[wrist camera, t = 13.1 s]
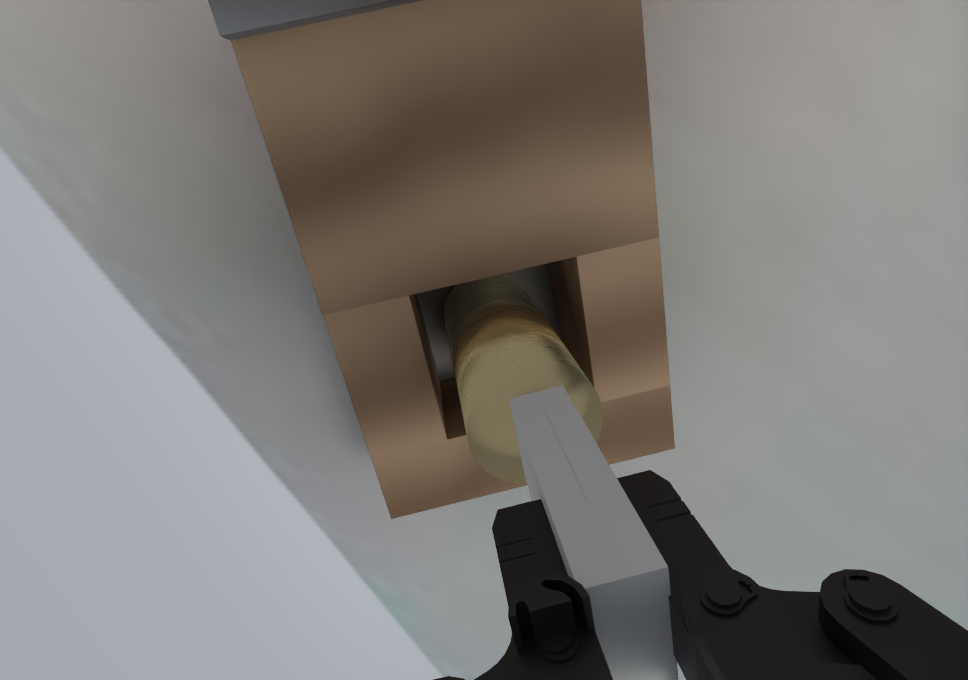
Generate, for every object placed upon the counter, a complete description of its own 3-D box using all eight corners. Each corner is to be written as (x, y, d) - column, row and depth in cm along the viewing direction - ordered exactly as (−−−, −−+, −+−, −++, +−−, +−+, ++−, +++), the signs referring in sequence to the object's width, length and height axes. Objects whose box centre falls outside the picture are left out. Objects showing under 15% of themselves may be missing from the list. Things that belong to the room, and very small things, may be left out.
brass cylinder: (434, 281, 24) (453, 382, 15) (523, 260, 25) (594, 348, 15) (454, 362, 26) (482, 498, 17) (537, 342, 26) (609, 466, 17)
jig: (245, -23, 20) (182, -76, 14) (578, -90, 20) (643, -167, 15) (393, 450, 27) (390, 535, 22) (630, 392, 28) (686, 461, 22)
